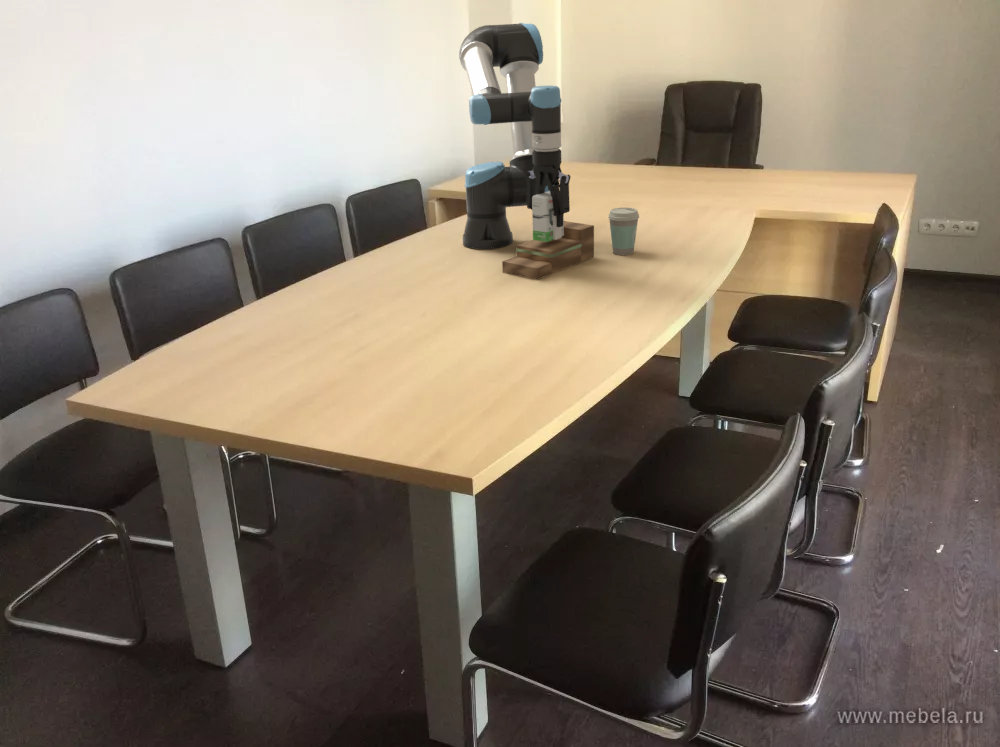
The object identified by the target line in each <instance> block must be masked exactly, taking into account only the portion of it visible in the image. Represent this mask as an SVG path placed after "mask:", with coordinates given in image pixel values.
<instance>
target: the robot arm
mask: <svg viewBox="0 0 1000 747" xmlns="http://www.w3.org/2000/svg"><path fill="white" fill-rule="evenodd" d="M543 49H544V46H543V39H542V36H541V33H540V30H539V29H538V27H537V25H535V24H534V23H524V22H519V23H507V24H486V25H482V26H478V27H477V28H475V29H473V30H472V31H471V32H469V33H468V35H466V37H464V39H463V41H462V43H461V44H460V47H459V52H458V53H459V62H460V65H461V67H462V68H463V70H464V71H466V73H467V79H468V82H469V85H470V89H471V93H472V95H471V96H469V100H468V107H469V108H468V109H469V118H470V123H472V124H473V125H484V126H486V125H487V126H488V125H495V124H508V123H509V124H510V131H511V140H512V149H513V150H512V152H513V156H512V157H511V158H510V160H509V166H505V164H504V162H503V161H488V162H484V163H479V164H476V165H473V166H470V167H469V168H468V169H467V170H466V171H465V174H464V176H465V177H464V178H465V179H464V180H465V181H464V183H465V184H464V188H465V198H466V200H465V201H466V216H467V217H466V223H465V226H464V233H463V234H462V245H463V246H464V247H466V248H469V249H476V250H493V249H500V248H504V247H507V246H510V245H511V244H513V243H514V235H513V232H512V231H511V227H510V224H509V221H508V218H507V208H510V207H526V208H527V209H530V210H531V211H532V197H533V196H534V195H537V194H542V193H544V192H548V191H550V193H551V197H552V202H553V206H554V211H555V214H553V239H554V240H556V239H559V238H562V236H561V227H562V226H563V214H564V215H565V214H567V213H569V212H570V210H571V208H570V181H571V174H565V173H563V172H562V167H561V164H562V149H561V148H562V114H561V112H562V110H561V109H562V106H561V105H562V98H561V97H562V96H561V89H560V87H559V86H557V85H538V86H537V85H536V78H535V77H536V76H535V74H537V72H538V70H540V67H539V65H541V64H542V63H543V61H544V50H543ZM495 67H497V68H498V67H499V72H500V75H501V76H503V77H504V78H505V83H506V90H507V91H506V92H503V93H502V91H501V90H502V89H501V88H500V85H499V81H498V78H497V75H496V71H495V69H494V68H495Z"/></svg>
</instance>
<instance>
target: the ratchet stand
mask: <svg viewBox="0 0 1000 747" xmlns="http://www.w3.org/2000/svg"><path fill="white" fill-rule="evenodd" d="M515 247H516V248H515V251H516V256H513V257H511V258H507V259H505V260H502V262H501V264H502V266H501V268H502V269H501V270H502V273H504V274H510V275H514V276H519V277H523V278H529V279H532V280H539V279H540V280H541V279H543V278H544V277H547V276H550V275H553V274H555V273H558V272H560V271H563V270H566V269H569V268H570V267H573V266H575V265H577V264H581V263H583V262H586V261H588V260H591V259H594V258H595V225H593V224H588V223H587V224H585V223H580V222H574V221H566V220H564V235H563V236H562V238H559V239H556V240H551V241H549V242H544V241H537V240H533V239H532V240H531V239H530V240H528V241H525V242H523V243H519V244H517V245H516V246H515Z"/></svg>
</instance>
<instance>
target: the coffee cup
mask: <svg viewBox="0 0 1000 747" xmlns="http://www.w3.org/2000/svg"><path fill="white" fill-rule="evenodd" d="M639 218H640V214H639V211H638V209H637V208H634V207H615V208H612V209H610V211H609V214H608V219H609V220H608V221H609V226H610V230H609V231H610V238H611V247H612V253H613V254H614V255H616V256H629V254H630V255H632V254H634V250H635V243H636V237H637V231H638V221H639Z"/></svg>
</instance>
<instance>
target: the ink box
mask: <svg viewBox="0 0 1000 747" xmlns="http://www.w3.org/2000/svg"><path fill="white" fill-rule="evenodd" d="M531 212H532V240H537V241H544V242H549V241H551V240H554V239H553V214H555V211H554V206H553V202H552V197H551V193H550V191H548V192H544V193H542V194H537V195H534V196H533V197H532V210H531ZM564 217H565V213H564V214H563V226H562V227H561V236H563V235H564V221H565V220H564V219H565V218H564Z"/></svg>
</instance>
